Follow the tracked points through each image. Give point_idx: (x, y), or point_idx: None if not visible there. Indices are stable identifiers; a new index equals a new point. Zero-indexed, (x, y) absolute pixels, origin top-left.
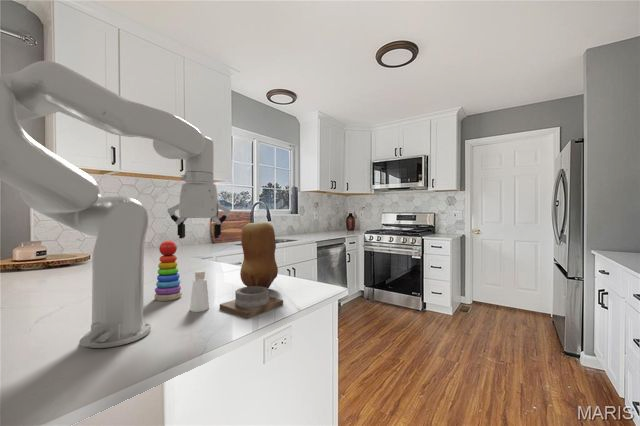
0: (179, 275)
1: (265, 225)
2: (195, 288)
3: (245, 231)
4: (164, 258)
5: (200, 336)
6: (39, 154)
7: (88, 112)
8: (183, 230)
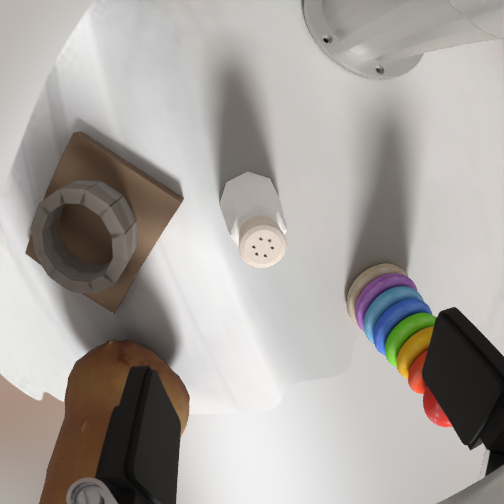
0: (375, 344)
1: None
2: (263, 196)
3: None
4: None
5: (164, 8)
6: None
7: None
8: (458, 385)
